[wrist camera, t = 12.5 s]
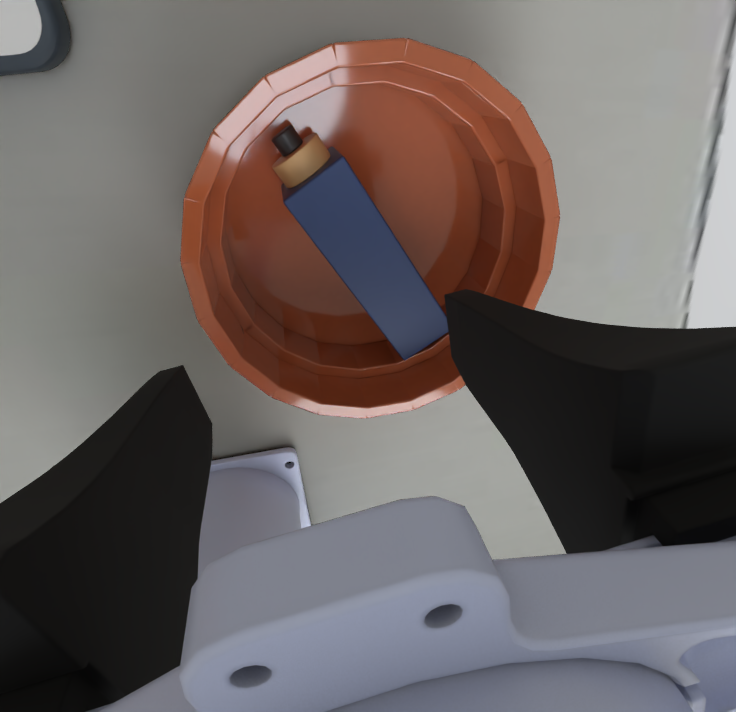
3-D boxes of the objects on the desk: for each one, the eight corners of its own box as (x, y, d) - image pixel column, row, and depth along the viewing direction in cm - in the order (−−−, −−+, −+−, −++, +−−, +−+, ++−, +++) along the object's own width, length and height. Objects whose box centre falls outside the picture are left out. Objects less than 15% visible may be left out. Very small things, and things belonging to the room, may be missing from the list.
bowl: (488, 337, 25) (534, 389, 20) (238, 376, 23) (232, 442, 19) (512, 39, 18) (589, 24, 13) (158, 64, 16) (119, 56, 12)
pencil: (433, 301, 22) (454, 328, 20) (389, 331, 23) (404, 362, 20) (307, 106, 17) (314, 110, 15) (252, 149, 17) (250, 160, 15)
